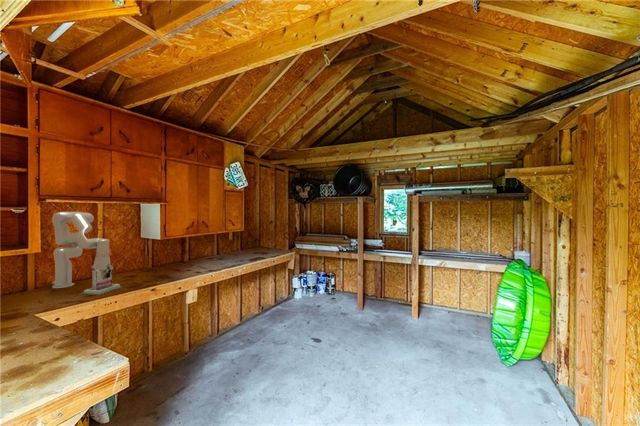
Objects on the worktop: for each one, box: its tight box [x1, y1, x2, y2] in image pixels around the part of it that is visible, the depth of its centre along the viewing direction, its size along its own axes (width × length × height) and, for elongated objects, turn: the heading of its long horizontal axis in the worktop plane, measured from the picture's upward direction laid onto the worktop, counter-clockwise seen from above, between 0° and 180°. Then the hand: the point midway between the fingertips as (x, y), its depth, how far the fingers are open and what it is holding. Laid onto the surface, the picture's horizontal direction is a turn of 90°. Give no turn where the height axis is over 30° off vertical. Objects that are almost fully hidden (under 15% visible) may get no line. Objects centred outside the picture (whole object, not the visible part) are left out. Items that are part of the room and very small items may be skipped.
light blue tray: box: [83, 283, 121, 294], centre depth 200 cm, size 12×18×2 cm, turn 175°
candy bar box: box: [91, 269, 113, 290], centre depth 200 cm, size 11×5×16 cm, turn 164°
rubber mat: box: [79, 285, 124, 296], centre depth 200 cm, size 16×20×1 cm
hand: (102, 277), depth 200 cm, fingers open, 9 cm apart
